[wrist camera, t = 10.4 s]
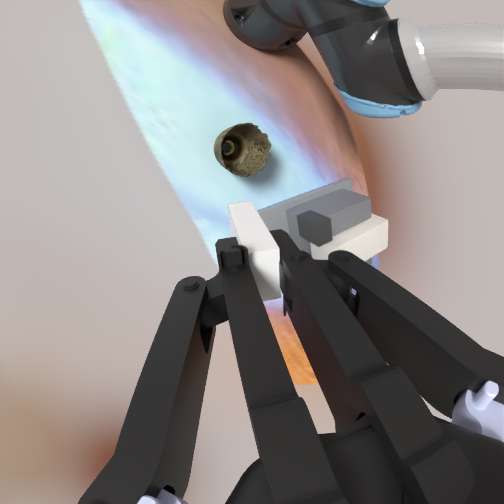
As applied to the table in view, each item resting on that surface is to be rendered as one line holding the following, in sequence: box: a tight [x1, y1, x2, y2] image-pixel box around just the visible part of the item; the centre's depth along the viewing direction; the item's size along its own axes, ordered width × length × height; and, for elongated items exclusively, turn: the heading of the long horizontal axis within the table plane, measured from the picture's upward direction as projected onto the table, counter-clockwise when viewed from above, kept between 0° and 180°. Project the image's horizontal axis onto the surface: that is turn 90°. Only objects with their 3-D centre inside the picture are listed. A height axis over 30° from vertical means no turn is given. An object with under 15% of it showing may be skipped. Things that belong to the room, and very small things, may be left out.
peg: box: [310, 213, 388, 261], centre depth 50 cm, size 14×6×7 cm, turn 103°
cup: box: [214, 123, 271, 177], centre depth 39 cm, size 8×7×8 cm
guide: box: [257, 178, 371, 265], centre depth 51 cm, size 24×17×10 cm
